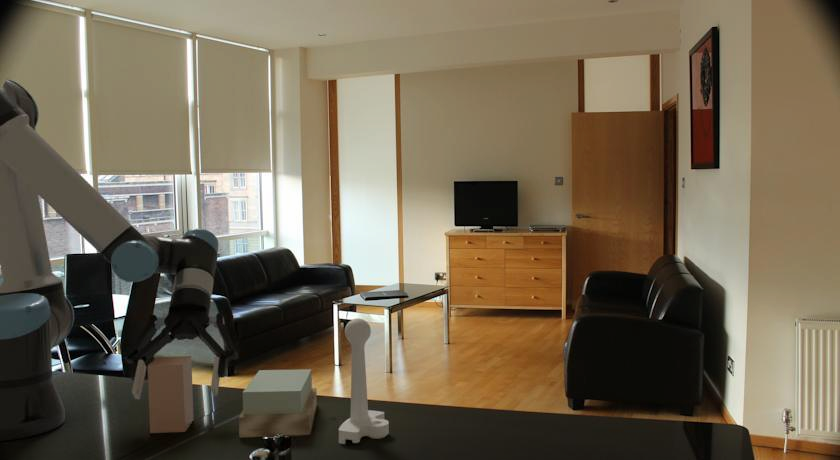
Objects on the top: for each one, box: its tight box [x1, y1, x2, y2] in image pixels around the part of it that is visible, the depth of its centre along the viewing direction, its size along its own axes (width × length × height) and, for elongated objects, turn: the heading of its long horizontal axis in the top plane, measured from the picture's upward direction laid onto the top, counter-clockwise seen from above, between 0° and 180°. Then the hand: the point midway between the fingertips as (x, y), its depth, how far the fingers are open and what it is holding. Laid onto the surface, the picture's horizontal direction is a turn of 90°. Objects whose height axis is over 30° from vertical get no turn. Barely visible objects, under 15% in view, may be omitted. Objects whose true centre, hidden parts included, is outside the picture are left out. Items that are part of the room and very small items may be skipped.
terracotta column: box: [147, 355, 195, 434], centre depth 125 cm, size 6×6×12 cm
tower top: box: [242, 368, 313, 415], centre depth 128 cm, size 10×14×4 cm
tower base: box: [238, 387, 318, 438], centre depth 128 cm, size 12×16×4 cm
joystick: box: [338, 318, 390, 445], centre depth 120 cm, size 11×8×20 cm
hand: (175, 394), depth 125 cm, fingers open, 13 cm apart
